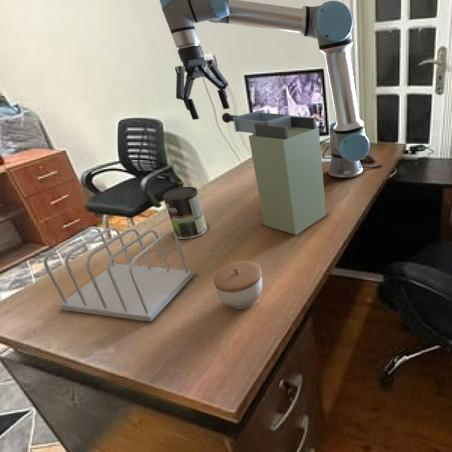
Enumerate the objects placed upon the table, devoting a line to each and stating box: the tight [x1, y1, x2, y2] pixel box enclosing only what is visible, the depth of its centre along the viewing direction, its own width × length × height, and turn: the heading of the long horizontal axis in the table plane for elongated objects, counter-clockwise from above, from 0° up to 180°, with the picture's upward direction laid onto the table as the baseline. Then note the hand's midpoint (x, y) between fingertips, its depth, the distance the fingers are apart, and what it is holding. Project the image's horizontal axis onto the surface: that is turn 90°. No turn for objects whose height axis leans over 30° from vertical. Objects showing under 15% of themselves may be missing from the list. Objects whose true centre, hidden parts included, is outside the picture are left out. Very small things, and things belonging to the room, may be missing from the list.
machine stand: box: [248, 115, 327, 236], centre depth 112 cm, size 14×16×33 cm
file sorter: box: [43, 226, 194, 323], centre depth 85 cm, size 25×17×16 cm
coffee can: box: [162, 186, 208, 240], centre depth 114 cm, size 10×10×14 cm
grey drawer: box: [221, 109, 292, 134], centre depth 112 cm, size 26×12×4 cm, turn 54°
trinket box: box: [213, 260, 263, 310], centre depth 81 cm, size 11×11×9 cm
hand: (211, 113), depth 122 cm, fingers open, 13 cm apart
